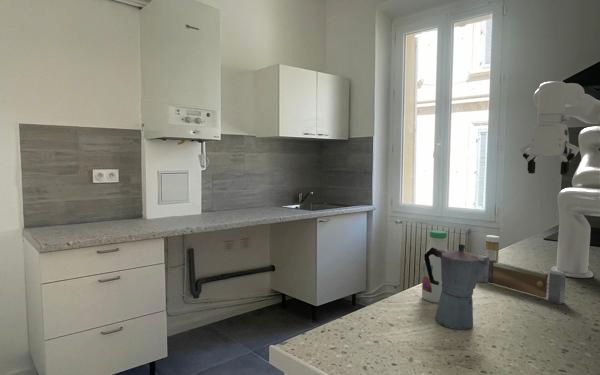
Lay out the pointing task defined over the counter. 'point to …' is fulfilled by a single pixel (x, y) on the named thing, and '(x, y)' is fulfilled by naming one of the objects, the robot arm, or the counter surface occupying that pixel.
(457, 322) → the moka pot
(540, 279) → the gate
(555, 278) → the grey rectangular blocks
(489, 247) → the sprinkles bottle
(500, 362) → the counter surface
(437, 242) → the milk bottle
